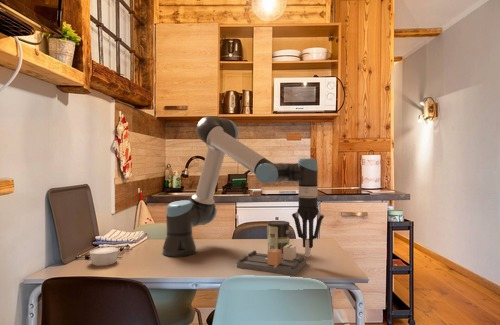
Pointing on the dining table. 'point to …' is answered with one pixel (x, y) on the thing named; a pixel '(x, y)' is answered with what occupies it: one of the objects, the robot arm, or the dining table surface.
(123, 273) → the dining table surface
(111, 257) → the ramekin
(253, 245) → the dining table surface
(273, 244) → the coffee can
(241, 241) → the dining table surface
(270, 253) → the terracotta fader knob
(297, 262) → the console
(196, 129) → the robot arm
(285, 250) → the off-white fader knob
